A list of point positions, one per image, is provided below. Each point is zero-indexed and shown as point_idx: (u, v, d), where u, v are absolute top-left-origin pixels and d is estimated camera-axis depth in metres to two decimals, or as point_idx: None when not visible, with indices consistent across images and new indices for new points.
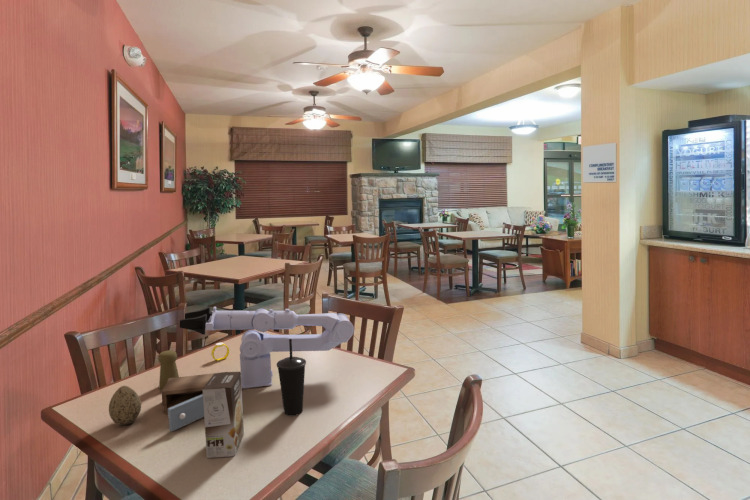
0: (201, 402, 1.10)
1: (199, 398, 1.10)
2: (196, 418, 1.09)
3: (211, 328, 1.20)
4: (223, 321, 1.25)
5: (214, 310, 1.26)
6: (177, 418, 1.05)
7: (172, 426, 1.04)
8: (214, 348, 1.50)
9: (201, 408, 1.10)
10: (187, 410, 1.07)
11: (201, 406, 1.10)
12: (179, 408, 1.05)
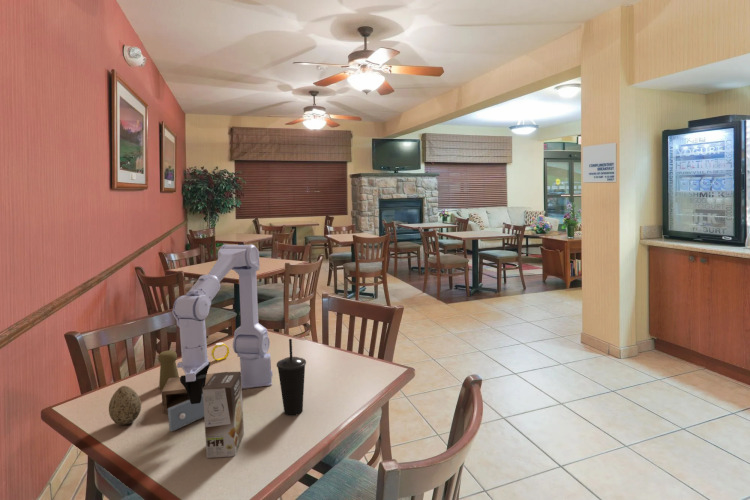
0: (201, 402, 1.10)
1: None
2: (196, 418, 1.09)
3: (192, 374, 0.96)
4: (191, 356, 1.00)
5: (180, 366, 1.01)
6: (177, 418, 1.05)
7: (172, 426, 1.04)
8: (214, 348, 1.50)
9: (201, 408, 1.10)
10: (187, 410, 1.07)
11: (201, 406, 1.10)
12: (179, 408, 1.05)
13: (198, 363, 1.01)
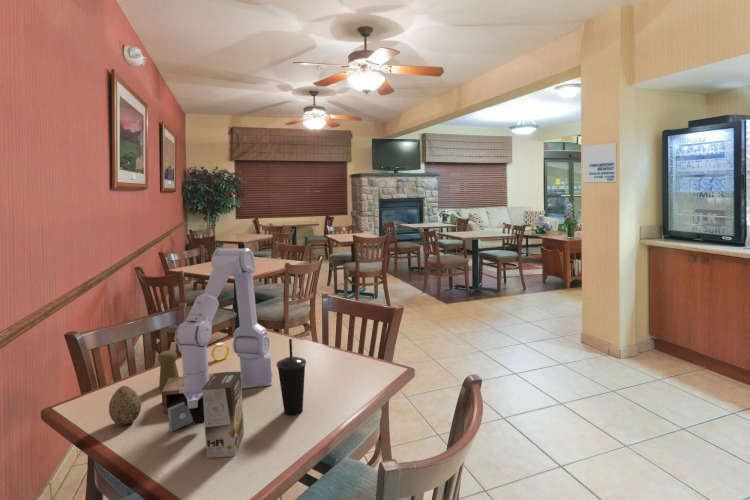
0: None
1: None
2: None
3: (194, 401, 0.97)
4: (193, 382, 1.01)
5: (182, 391, 1.02)
6: (177, 418, 1.05)
7: (172, 426, 1.04)
8: (214, 348, 1.50)
9: None
10: (187, 410, 1.07)
11: None
12: (179, 408, 1.05)
13: (200, 389, 1.02)
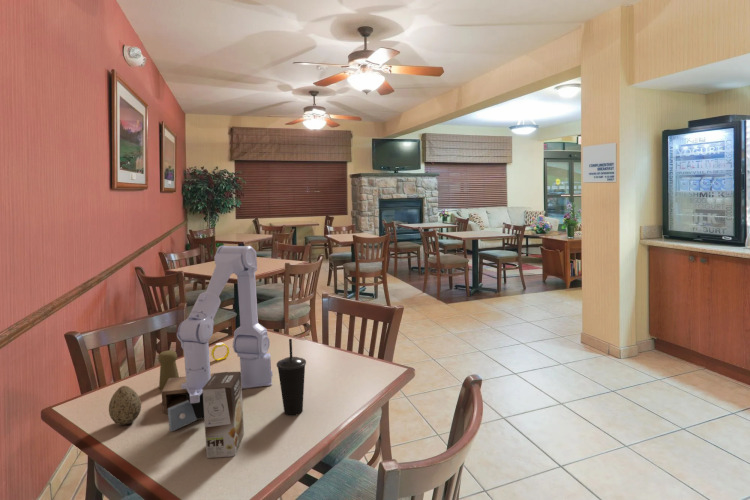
0: None
1: None
2: (196, 418, 1.09)
3: (196, 396, 1.00)
4: (195, 378, 1.04)
5: (184, 387, 1.05)
6: (177, 418, 1.05)
7: (172, 426, 1.04)
8: (214, 348, 1.50)
9: None
10: (187, 410, 1.07)
11: None
12: (179, 408, 1.05)
13: (202, 384, 1.04)
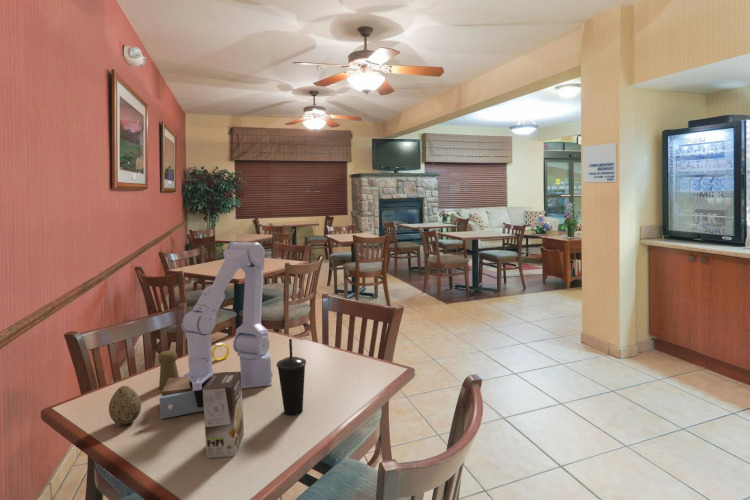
0: (194, 397, 1.13)
1: (192, 393, 1.13)
2: (188, 412, 1.13)
3: (198, 384, 1.05)
4: (197, 367, 1.09)
5: (187, 376, 1.10)
6: (167, 408, 1.11)
7: (161, 414, 1.10)
8: (214, 348, 1.50)
9: (194, 403, 1.13)
10: (178, 402, 1.11)
11: (193, 401, 1.13)
12: (169, 398, 1.11)
13: (204, 373, 1.10)
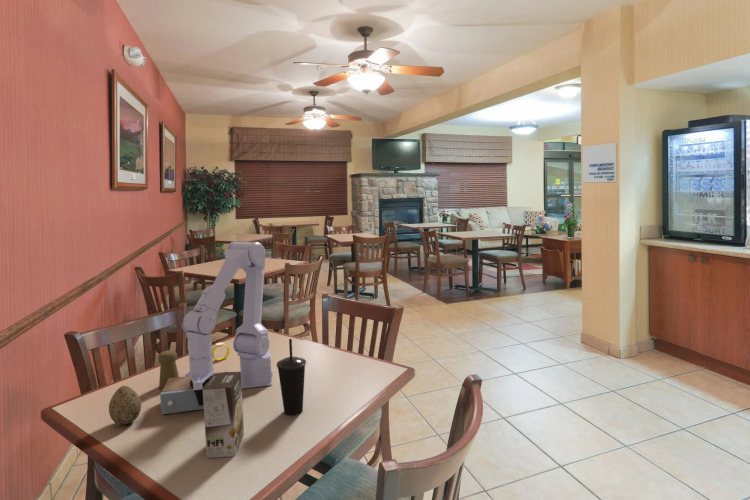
0: (193, 395, 1.14)
1: (191, 391, 1.14)
2: (188, 409, 1.14)
3: (199, 383, 1.06)
4: (198, 366, 1.10)
5: (187, 375, 1.11)
6: (167, 404, 1.13)
7: (161, 409, 1.12)
8: (214, 348, 1.50)
9: (193, 401, 1.14)
10: (178, 399, 1.13)
11: (193, 399, 1.14)
12: (169, 395, 1.13)
13: (204, 373, 1.11)
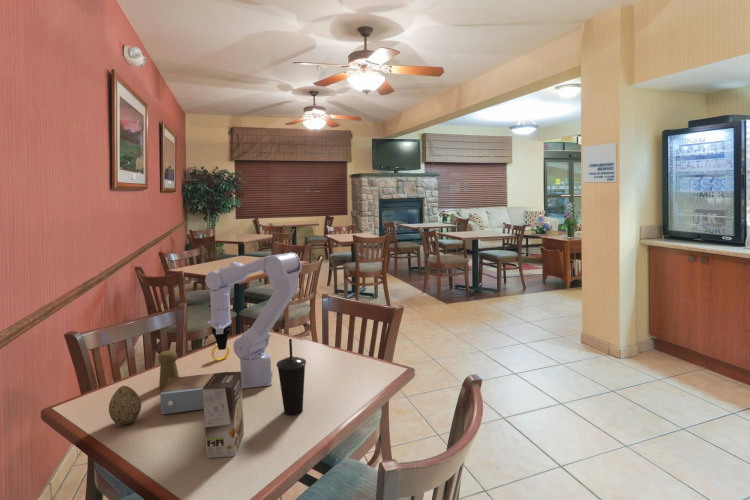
0: (193, 395, 1.14)
1: (191, 391, 1.14)
2: (188, 409, 1.14)
3: (220, 328, 1.28)
4: (219, 316, 1.32)
5: (210, 323, 1.33)
6: (167, 404, 1.13)
7: (161, 409, 1.12)
8: (214, 348, 1.50)
9: (193, 401, 1.14)
10: (178, 399, 1.13)
11: (193, 399, 1.14)
12: (169, 395, 1.13)
13: (224, 321, 1.33)
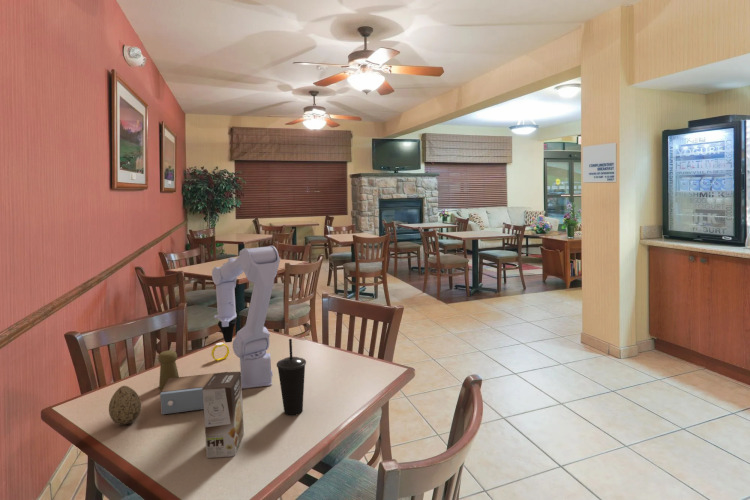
0: (193, 395, 1.14)
1: (191, 391, 1.14)
2: (188, 409, 1.14)
3: (226, 321, 1.35)
4: (224, 310, 1.38)
5: (216, 317, 1.40)
6: (167, 404, 1.13)
7: (161, 409, 1.12)
8: (214, 348, 1.50)
9: (193, 401, 1.14)
10: (178, 399, 1.13)
11: (193, 399, 1.14)
12: (169, 395, 1.13)
13: (229, 315, 1.39)
